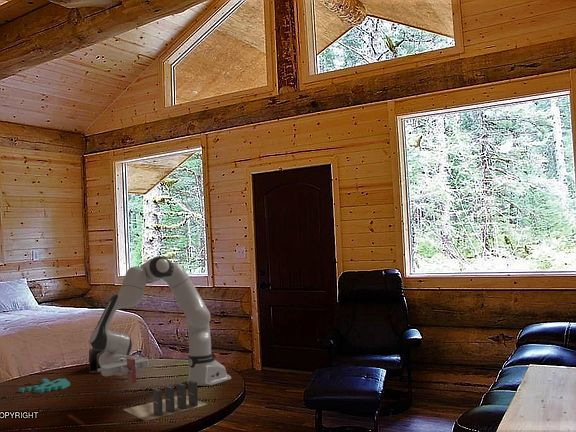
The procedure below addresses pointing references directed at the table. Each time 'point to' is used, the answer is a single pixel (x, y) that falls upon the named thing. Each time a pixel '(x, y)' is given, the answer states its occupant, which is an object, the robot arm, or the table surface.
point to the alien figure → (47, 386)
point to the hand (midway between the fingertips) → (132, 369)
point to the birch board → (147, 410)
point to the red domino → (131, 370)
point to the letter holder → (94, 360)
